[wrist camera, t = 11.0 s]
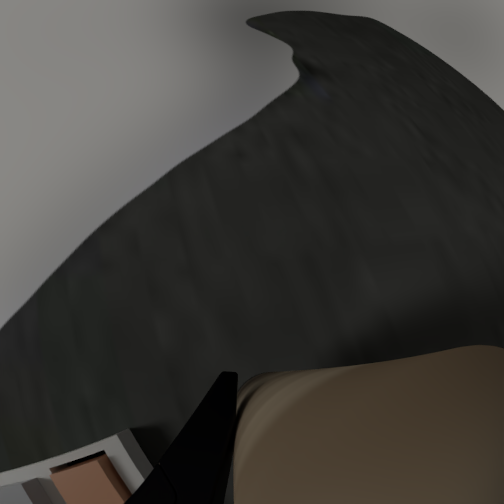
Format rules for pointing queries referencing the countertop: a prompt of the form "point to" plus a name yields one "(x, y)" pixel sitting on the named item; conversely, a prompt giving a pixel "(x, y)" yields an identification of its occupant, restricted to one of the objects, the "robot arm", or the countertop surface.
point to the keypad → (37, 474)
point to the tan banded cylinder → (375, 432)
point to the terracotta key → (91, 483)
